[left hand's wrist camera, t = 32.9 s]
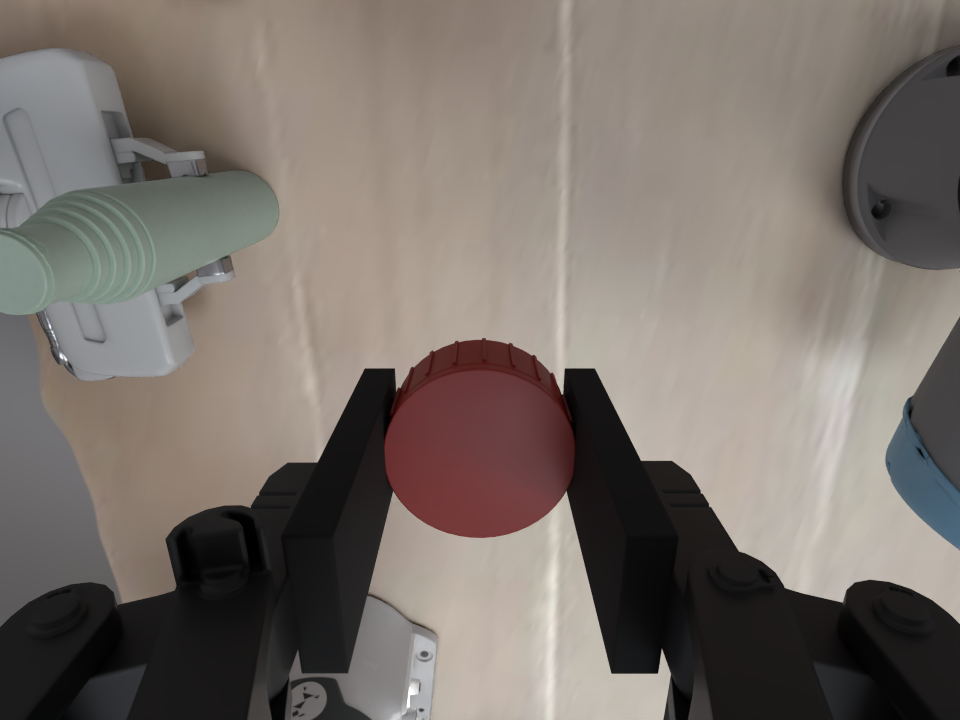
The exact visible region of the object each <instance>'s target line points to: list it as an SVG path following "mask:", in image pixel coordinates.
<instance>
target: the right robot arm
mask: <svg viewBox="0 0 960 720" xmlns="http://www.w3.org/2000/svg"><path fill="white" fill-rule="evenodd" d="M153 160H156V161H158V162H161V163H163V164H165V165H167V166H168V169H169V173H170V176H171V178H177V177H185V176H201V175H209V172H208V168H207V163H206V159H205V155H204V151H186V152H178V151H176V150H174V149H172V148H170V147H168V146H166V145H163V144H161V143H159V142H157V141H155V140H153V139H150V138H134V137H133V134H132V130H131V127H130V123H129V120H128V117H127V113H126V110H125V106H124V103H123V100H122V96H121V93H120V89H119V86H118V82H117V79H116V75H115V72H114V70H113V68H112V67H111V66H110V65H109V64H108V63H106V62H105V61H103V60H102V59H100V58H99V57H97V56H95V55H93V54H91V53H88V52H85V51H81V50H76V49H69V48H48V49H40V50H34V51H29V52H24V53H19V54H14V55H10V56H6V57H2V58H0V228H15V227H19V226H20V225H21V224H22V223H23V222H25V221H26V220H27V219H28V218H29V217H30V216H31V215H33V214H34V213H35V212H36V211H37V210H38V209H40V208H41V207H42V206H43V205H44V204H45V203H47V202H48V201H49V200H51V199H53V198H55V197H57V196H60V195H62V194H64V193H67V192H70V191H73V190H80V189H88V188H96V187H104V186H113V185H121V184H129V183H137V182H145V181H146V178H145V175H144V171H143V168H142V164H141V162H146V161H153ZM196 270H197V274H198V275H196V276H195V277H194V278H192V279H191V280H190V281H189V279H188V277H186V276H184V277H179V278H177V279H174V280H172V281H170V282H168V283H166V284H163V285H161V286H159V287H157V288H155V289H153V290H150V291H148V292H146V293H144V294H142V295H139V296H137V297H135V298H133V299H130V300H128V301H124V302H120V303H113V304H107V305H98V304H86V303H73V302H60V301H59V302H57V303H54V304H51V305H49V306H47V307H46V308H45V309H44V310H42V311H39V312H37V313H36V314H37V316H38V319H39V321H40V324H41V326H42V328H43V330H44V332H45V333H46V335H47V337H48V340H49V342H50V345H51V347H50V348H51V352H52V355H53V357H54V359H55V360H56V362H57V363H58V364H60V365H62V364H64V366H65V367H66V369H67V370H68V371H69V372H70V373H71V374H73V375H74V376H76V378H78V379H79V380H83V381H94V380H105V379H111V378H114V377H116V376H119V377H157V376H165V375H168V374H170V373H172V372H173V371H175V370H177V369H178V368H179V367H181V366H182V365H183V364H184V363H185V362H186V361H187V360H188V359H189V358H190V356H191V355H192V354H193V353H194V350H195V346H194V342H193V338H192V335H191V332H190V328H189V325H188V321H187V318H186V315H185V311H184V308H183V304H182V301H184V300H186V299H188V298H190V297H191V296H193V295H195V294H196V293H197V292H198V291H200V290H201V289H202V288H203V287H205V286H206V285H207V284H210V283H220V282H225V281H229V280H231V279H233V278H234V277H235V273H234V269H233V265H232V261H231V258H230V256H229V255H228V256H225V257H223V258H221V259H218V260H216V261H214V262H212V263H210V264H207V265H205V266H203V267H201V268H199V269H196ZM437 646H438V638H437V636H436V635H435V634H434V633H433V632H431V631H430V630H427V629H425V628H423V627H420V626H418V625H415V624H412V623H411V622H409V621H408V620H407V619H406V618H404V617H403V616H402V615H401V614H400V613H399V612H398V611H397V610H395V609H394V608H393V607H391V606H390V605H388V604H386V603H384V602H383V601H381V600H378V599H376V598H373V597H371V596H367V599H366V603H365V607H364V611H363V615H362V619H361V623H360V627H359V631H358V635H357V639H356V643H355V647H354V652H353V656H352V660H351V664H350V668H349V672H348V674H302V672H301V665H300V659H299V652H298V651H297V654H296V657H295V660H294V662H293V665H292V668H291V671H290V674H289V678H290V684H291V691H292V709H291V720H430V718H431V708H432V697H433V687H434V677H435V667H436V656H437Z"/></svg>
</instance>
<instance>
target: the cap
mask: <svg viewBox="0 0 960 720" xmlns="http://www.w3.org/2000/svg"><path fill="white" fill-rule="evenodd" d="M389 416H391V418H390V421H389V424H388V428H387V431H386V435H385V438H384V450H385V465H386V475H387V478H388V481H389V483H390V485H391V487H392V489H393V491H394V493H395V494H396V496H397V497H398V499H399V500H400V501H401V503H402V504H403V505H404V506H405V507H406V508H407V509H408V510H409V511H410V512H411V513H412V514H413V515H415V516H416V517H417V518H419V519H420V520H422V521H423V522H425V523H426V524H428V525H430V526H432V527H434V528H436V529H438V530H441V531H444V532H446V533H450V534H454V535H458V536H464V537H474V538H486V537H496V536H501V535H506V534H510V533H513V532H516V531H519V530H521V529H524V528H526V527H528V526H530V525H532V524H533V523H535V522H537V521H538V520H540V519H541V518H542V517H544V516H545V515H546V514H548V513H549V512H550V511H551V510H552V509H553V508H554V507H555V506H556V505H557V503H558V502H559V501H560V500H561V498H562V497H563V495H564V494H565V492H566V490H567V489H568V487H569V485H570V482H571V480H572V477H573V473H574V459H575V443H576V442H575V435H574V431H573V428H572V425H571V423H573V420H572V417H571V414H570V411H569V408H568V405H567V401H566V398H565V395H564V394H563V395H561V392H560V389H559V387H558V385H557V382H556V379H555V376H554V374H553V373H551V374H550V372H549V371H548V370H547V369H546V368H545V367H544V366H543V365H542V364H541V363H540V362H539V361H538V360H537V358H536V356H535V355H533V356H532V355H530V354H528V353H526V352H525V351H523V350H521V349H519V348H517V347H514V346H513V344H511V343H509V344H505V343H502V342H497V341H490V340H486V338H482V340H471V341H463V342H458V341H455V343H454V344H451V345H448V346H445V347H443V348H441V349H439V350H437V351H435V352H434V351H431V352H430V355H428V356H427V357H426V358H424V359H423V360H422V361H421V362H420V363H418V364H417V365H416V366H415V367H414V368H413V367H411V369H410V372H409V374H408V376H407V378H406V379H405V381H404V382H403V384H402V386H401V388H399V387H398V389H397V392H396V395H395V398H394V401H393V404H392V407H391V410H390V413H389Z"/></svg>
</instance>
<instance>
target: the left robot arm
mask: <svg viewBox="0 0 960 720" xmlns="http://www.w3.org/2000/svg"><path fill="white" fill-rule="evenodd" d="M843 197H844V204H845V208H846V212H847V215H848V217H849V220H850V222H851V224H852V226H853V228H854V230H855V231H856V233H857V234H858V236H859V237H860V238H861V239H862V241H863V242H864V243H865V244H866V245H867V246H868V247H870V248H871V249H872V250H873V251H875V252H876V253H878V254H880V255H881V256H883V257H885V258H888V259H890V260H893V261H896V262H899V263H903V264H906V265H909V266H913V267H917V268H923V269H935V270H940V269H955V268H960V45H958V46H954V47H951V48H947V49H945V50H942V51H940V52H937V53H935V54H933V55H931V56H929V57H926V58H925V59H923V60H921V61H920V62H918V63H916V64H915V65H913V66H912V67H910V68H909V69H907V70H906V71H905V72H903V73H902V74H901V75H900V76H898V77H897V78H896V79H895V80H894V81H893V82H892V83H891V84H890V85H889V86H888V87H887V88H886V89H885V90H884V91H883V92H882V93H881V94H880V95H879V96H878V97H877V99H876V100H875V101H874V103H873V104H872V105H871V107H870V108H869V109H868V111H867V112H866V114H865V116H864V117H863V119H862V120H861V122H860V124H859V126H858V128H857V130H856V132H855V134H854V137H853V139H852V141H851V144H850V147H849V150H848V153H847V157H846V161H845V167H844V173H843ZM959 272H960V271H959ZM563 394H564V395H565V398H566V401H567V405H568V408H569V411H570V414H571V417H572V420H573V423H571V425H572V428H573V431H574V435H575V442H576V443H575V459H574V473H573V477H572V480H571V482H570V485H569V487H568V489H567V495H568V499H569V503H570V507H571V511H572V515H573V519H574V523H575V527H576V531H577V535H578V539H579V543H580V547H581V551H582V556H583V560H584V564H585V568H586V572H587V576H588V580H589V584H590V588H591V592H592V596H593V600H594V604H595V608H596V612H597V616H598V621H599V625H600V629H601V633H602V637H603V641H604V645H605V649H606V653H607V657H608V661H609V665H610V669H611V673H612V674H658V670H659V663H660V657H661V650H663V652H664V655H665V658H666V661H667V663H668V666H669V669H670V672H671V678H670V684H669V690H668V696H667V702H666V708H665V715H664V720H960V624H959V623H958V622H957V621H956V620H955V619H954V618H953V617H952V616H951V615H950V614H949V613H948V612H946V611H945V610H944V609H942V608H941V607H940V606H939V605H937V604H936V603H935V602H934V601H932V600H931V599H929V598H927V597H925V596H923V595H921V594H919V593H917V592H915V591H913V590H912V589H909V588H906V587H903V586H900V585H897V584H894V583H891V582H884V581H876V580H866V581H861V582H855V583H854V584H853V585H852V586H851V587H850V588H848V589H847V591H846V594H845V597H844V601H843V603H842V602H837V601H833V600H828V599H824V598H820V597H815V596H811V595H806V594H802V593H799V592H795V591H792V590H789V589H786V588H784V585H783V584H782V582H781V581H780V579H779V577H778V576H777V574H776V573H775V572H774V571H773V570H772V569H770V568H769V567H768V566H767V565H765V564H764V563H763V562H762V561H760V560H758V559H756V558H754V557H752V556H749V555H747V554H745V553H742V552H739V551H738V549H737V548H736V546H735V545H734V543H733V541H732V540H731V538H730V537H729V535H728V533H727V532H726V530H725V529H724V527H723V526H722V524H721V522H720V521H719V519H718V518H717V516H716V514H715V513H714V511H713V510H712V508H711V507H709V503H708V502H707V500H706V498H705V497H704V495H703V494H701V490H700V489H699V487H698V486H697V484H696V483H695V481H694V479H693V478H692V476H691V475H690V474H689V473H688V472H686V471H685V470H684V469H682V468H681V467H679V466H678V465H677V464H675V463H674V462H673V461H641V460H640V458H639V456H638V454H637V452H636V450H635V448H634V446H633V444H632V442H631V440H630V438H629V436H628V434H627V432H626V430H625V428H624V426H623V424H622V422H621V420H620V418H619V416H618V414H617V412H616V410H615V408H614V406H613V404H612V402H611V400H610V398H609V396H608V394H607V392H606V390H605V388H604V386H603V384H602V382H601V380H600V378H599V376H598V374H597V372H596V370H595V369H565V375H564V392H563ZM395 395H396V381H395V369H364V371H363V373H362V375H361V377H360V379H359V381H358V383H357V385H356V387H355V389H354V391H353V393H352V395H351V397H350V399H349V401H348V403H347V405H346V407H345V409H344V411H343V413H342V415H341V417H340V419H339V421H338V423H337V425H336V427H335V429H334V431H333V433H332V435H331V437H330V439H329V441H328V443H327V445H326V447H325V449H324V451H323V453H322V455H321V457H320V459H319V461H318V463H287V464H285V465H284V466H283V467H281V468H280V469H279V470H277V471H276V472H275V473H273V474H272V475H271V476H269V478H268V479H267V481H266V483H265V484H264V486H263V487H262V489H261V491H260V492H259V496H257V497H256V499H255V500H254V502H253V503H252V505H251V508H249V507H245V506H221V507H217V508H212V509H208V510H205V511H202V512H200V513H198V514H195V515H193V516H191V517H188V518H187V519H186V520H184V521H183V522H181V523H180V524H179V525H177V526H176V527H174V529H173V530H172V531H171V533H170V534H169V535H168V537H167V538H166V543H167V548H168V552H169V556H170V560H171V564H172V568H173V572H174V576H175V581H176V585H177V586H176V589H175V591H172V592H169V593H166V594H162V595H159V596H155V597H151V598H146V599H142V600H137V601H133V602H129V603H124V604H120V605H117V602H116V599H115V596H114V592H112V591H111V590H110V589H109V588H108V587H107V586H106V585H102V584H97V583H92V582H89V583H80V584H71V585H68V586H65V587H62V588H59V589H56V590H53V591H50V592H48V593H46V594H44V595H42V596H40V597H38V598H36V599H35V600H33V601H31V602H29V603H28V604H26V605H25V606H24V607H22V608H21V609H20V610H19V611H17V612H16V613H15V614H14V615H12V616H11V617H10V618H9V619H8V620H7V621H6V622H5V623H4V624H3V625H2V626H1V627H0V720H291V709H292V691H291V684H290V678H289V674H290V671H291V668H292V665H293V662H294V660H295V657H296V654H297V651H298V652H299V659H300V665H301V672H302V674H348V672H349V668H350V664H351V660H352V656H353V652H354V647H355V643H356V639H357V635H358V631H359V627H360V623H361V619H362V615H363V611H364V607H365V603H366V599H367V595H368V591H369V587H370V582H371V578H372V574H373V570H374V566H375V562H376V558H377V554H378V550H379V546H380V542H381V538H382V534H383V530H384V526H385V522H386V517H387V513H388V509H389V505H390V501H391V497H392V493H393V489H392V487H391V485H390V483H389V481H388V478H387V475H386V465H385V450H384V438H385V435H386V431H387V428H388V424H389V421H390V418H391V416H389V413H390V410H391V407H392V404H393V401H394V398H395ZM886 467H887V470H888V473H889V475H890V477H891V481H892V484H893V485H894V487H895V489H896V490H897V492H898V493H899V495H900V496H901V497H902V498H903V500H904V501H905V502H906V503H907V505H908V506H909V507H910V508H911V509H912V510H913V511H914V512H915V513H916V514H917V515H918V516H919V517H920V518H921V519H922V520H923V521H924V522H925V523H926V524H928V525H929V526H930V527H931V528H932V529H933V530H935V531H936V532H937V533H938V534H939V535H941V536H942V537H943V538H944V539H946V540H947V541H948V542H950V543H951V544H952V545H954V546H955V547H956V548H958V549H959V550H960V317H959V319H958V321H957V322H956V324H955V326H954V327H953V329H952V331H951V332H950V334H949V336H948V338H947V339H946V341H945V343H944V344H943V346H942V348H941V349H940V351H939V353H938V355H937V356H936V358H935V360H934V361H933V363H932V365H931V366H930V368H929V370H928V372H927V373H926V375H925V377H924V378H923V380H922V382H921V383H920V385H919V387H918V389H917V390H916V392H915V394H914V395H913V396H912V397H910V398H908V400H907V401H906V403H905V405H904V408H903V418H902V420H901V422H900V424H899V426H898V428H897V430H896V432H895V434H894V436H893V438H892V440H891V442H890V444H889V446H888V448H887V452H886Z"/></svg>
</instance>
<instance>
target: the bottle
mask: <svg viewBox="0 0 960 720" xmlns="http://www.w3.org/2000/svg"><path fill="white" fill-rule="evenodd" d="M278 217H279V207H278V202H277V199H276V196H275V194H274V192H273V190H272V189H271V187H270V186H269V185H268V184H267V183H266V182H265V181H264V180H263V179H262V178H260V177H259V176H257V175H255V174H253V173H251V172H247V171H242V170H234V171H226V172H218V173H210V174H209V175H201V176H185V177H177V178H169V179H161V180H153V181H145V182H137V183H129V184H121V185H113V186H104V187H96V188H88V189H80V190H73V191H70V192H67V193H64V194H62V195H60V196H57V197H55V198H53V199H51V200H49V201H48V202H47V203H45V204H44V205H43V206H42V207H41V208H40V209H38V210H37V211H36V212H35V213H34V214H33V215H31V216H30V217H29V218H28V219H27V220H26V221H25V222H23V223H22V224H21V225H20V226H19V227H15V228H0V312H2V313H5V314H11V315H26V314H34V313H37V312H39V311H42V310H44V309H45V308H46V307H47V306H49V305H51V304H54V303H57V302H59V301H60V302H73V303H86V304H98V305H107V304H113V303H120V302H124V301H128V300H130V299H133V298H135V297H137V296H139V295H142V294H144V293H146V292H148V291H150V290H153V289H155V288H157V287H159V286H161V285H163V284H166V283H168V282H170V281H172V280H174V279H177V278H179V277H181V276H183V275H185V274H188V273H190V272H192V271H194V270H196V269H199V268H201V267H203V266H205V265H207V264H210V263H212V262H214V261H216V260H218V259H221V258H223V257H225V256H227V255H229V254H232V253H234V252H236V251H238V250H240V249H243V248H245V247H247V246H249V245H251V244H254V243H256V242H258V241H260V240H262V239H264V238H266V237H267V236H268V235H270V234H271V232H272V231H273V230H274V228H275V227H276V224H277V221H278Z"/></svg>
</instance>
